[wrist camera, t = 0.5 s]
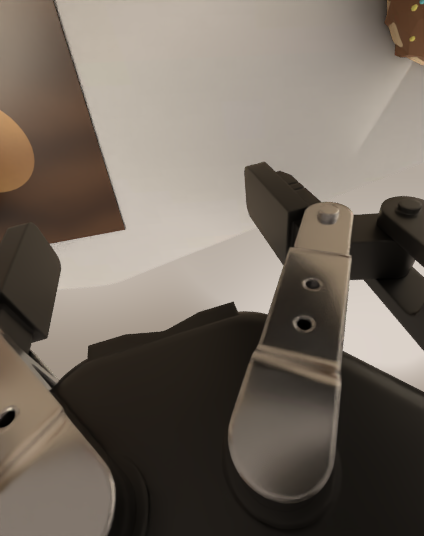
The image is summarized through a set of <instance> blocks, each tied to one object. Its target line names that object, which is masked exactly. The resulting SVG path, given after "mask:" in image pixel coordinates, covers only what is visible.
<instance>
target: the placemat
mask: <svg viewBox="0 0 424 536" xmlns="http://www.w3.org/2000/svg"><path fill="white" fill-rule="evenodd" d="M29 222H32V223H34V224H35V225H36V226H37V227H38V228H39V230H40V231H41V233H42V234H43V236H44V237H45V238H46V240H47V241H48V243H49V244H50V243H56V242H61V241H66V240H72V239H77V238H82V237H88V236H93V235H99V234H104V233H109V232H115V231H120V230H125V227H124V224H123V221H122V218H121V215H120V211H119V208H118V205H117V202H116V199H115V196H114V192H113V189H112V186H111V183H110V180H109V176H108V173H107V170H106V167H105V164H104V161H103V157H102V154H101V151H100V148H99V145H98V141H97V138H96V135H95V132H94V129H93V126H92V122H91V119H90V116H89V113H88V110H87V106H86V103H85V100H84V97H83V94H82V91H81V87H80V84H79V81H78V78H77V75H76V71H75V68H74V65H73V62H72V59H71V55H70V52H69V49H68V46H67V43H66V40H65V36H64V33H63V30H62V27H61V24H60V20H59V17H58V14H57V11H56V8H55V5H54V1H53V0H0V243H1V241H2V239H3V236H4V234H5V232H6V230H7V229H8V228H10V227H13V226H17V225H21V224H25V223H29Z"/></svg>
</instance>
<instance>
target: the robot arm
mask: <svg viewBox="0 0 424 536" xmlns="http://www.w3.org/2000/svg"><path fill="white" fill-rule="evenodd" d="M244 175H245V190H246V204H247V209H248V212H249V215H250V217H251V219H252V220H253V222H254V223H255V225H256V226H257V227H258V229H259V230H260V232H261V233H262V235H263V236H264V238H265V239H266V240H267V242H268V243H269V245H270V246H271V248H272V249H273V251H274V252H275V254H276V255H277V257H278V258H279V259H280V261H281V262H282V264H283V265H284V266H283V269H282V273H281V275H280V279H279V282H278V285H277V288H276V291H275V294H274V297H273V301H272V303H271V307H270V310H269V313H268V315H267V314H263V313H258V312H246V311H245V312H244V311H243V312H238V311H237V309H236V307H235V304H234V302H231V303H227V304H224V305H221V306H218V307H214V308H211V309H208V310H204V311H201V312H198V313H197V314H195V315H193V316H191V317H189V318H187V319H186V320H184V321H182V322H180V323H179V324H177V325H175V326H173V327H171V328H169V329H167V330H165V331H161V332H151V333H138V334H126V335H122V336H119V337H116V338H113V339H109V340H106V341H103V342H99V343H96V344H93V345H90V346H88V359H86V360H84V361H83V362H81V363H80V364H78V365H77V366H75V367H74V368H73V369H71V370H70V371H69V372H68V373H67V374H65V375H64V376H63V377H62V378H61V379H60V380H59V379H58V378H57V377H56V376H55V375H54V374H53V373H52V372H51V370H49V368H48V367H47V366H46V365H45V364H44V363H43V362H42V361H41V360H40V358H39V357H38V356H37V355H36V354H35V353H34V352H33V351H32V350H30V347H31V343H33V342H36V341H40V340H43V339H46V338H47V337H48V332H49V327H50V322H51V317H52V312H53V307H54V302H55V297H56V292H57V287H58V282H59V277H60V272H61V264H60V261H59V258H58V256H57V254H56V253H55V251H54V250H53V248H52V247H51V246H50V244H49V243H48V241H47V240H46V238H45V237H44V236H43V234H42V233H41V231H40V230H39V228H38V227H37V226H36V225H35V224H34V223H32V222H29V223H25V224H21V225H17V226H13V227H10V228H8V229H7V230H6V232H5V234H4V236H3V239H2V241H1V243H0V536H424V392H423V391H421V390H419V389H417V388H415V387H413V386H411V385H409V384H407V383H405V382H403V381H401V380H399V379H397V378H395V377H393V376H391V375H389V374H387V373H385V372H383V371H381V370H379V369H377V368H375V367H374V366H372V365H369V364H367V363H366V362H364V361H362V360H360V359H358V358H356V357H354V356H352V355H350V354H348V353H346V352H344V351H343V341H344V331H345V320H346V311H347V301H348V291H349V281H350V280H364V281H365V282H366V283H367V284H368V286H369V287H370V288H371V289H372V290H373V291H374V293H375V294H376V295H377V296H378V297H379V298H380V300H381V301H382V302H383V303H384V304H385V305H386V307H387V308H388V309H389V310H390V311H391V313H392V314H393V315H394V316H395V317H396V319H398V321H399V322H400V323H401V324H402V326H403V327H404V328H405V329H406V330H407V332H408V333H409V334H410V335H411V336H412V337H413V339H414V340H415V341H416V342H417V343H418V345H419V346H420V347H421V348H422V349H423V350H424V277H423V276H422V275H421V274H420V273H419V272H417V271H416V270H415V269H414V268H413V267H412V266H413V264H414V262H415V260H416V261H417V262H419V263H420V264H421V265H422V266H423V267H424V200H422V199H419V198H415V197H407V196H399V197H393V198H389V199H387V200H385V201H384V202H383V203H382V205H381V208H380V211H379V213H378V214H362V215H353V213H352V211H351V210H350V209H349V208H348V207H346V206H344V205H342V204H339V203H333V202H321V201H319V200H318V199H317V198H316V197H315V196H314V195H313V194H312V193H310V192H309V191H308V190H307V189H306V188H304V186H303V185H302V184H300V183H298V181H297V180H296V179H295V178H294V177H293V176H291V175H289V174H287V173H284V172H281V171H278V172H275V171H274V170H273V169H272V168H271V167H270V166H269V165H268V164H267V163H266V162H261V163H258V164H254V165H250V166H246V167H245V171H244Z"/></svg>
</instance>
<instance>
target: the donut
mask: <svg viewBox="0 0 424 536" xmlns="http://www.w3.org/2000/svg"><path fill="white" fill-rule="evenodd" d="M385 24H386V25H387V26H388V27H389V29H390V33H391V36H392V40H393V42H394V43H395V55H396V56H399V57H407V58H409V59H411V60H413V61H415V62H417V63H419V64H421V65H424V0H387V16H386V19H385Z"/></svg>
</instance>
